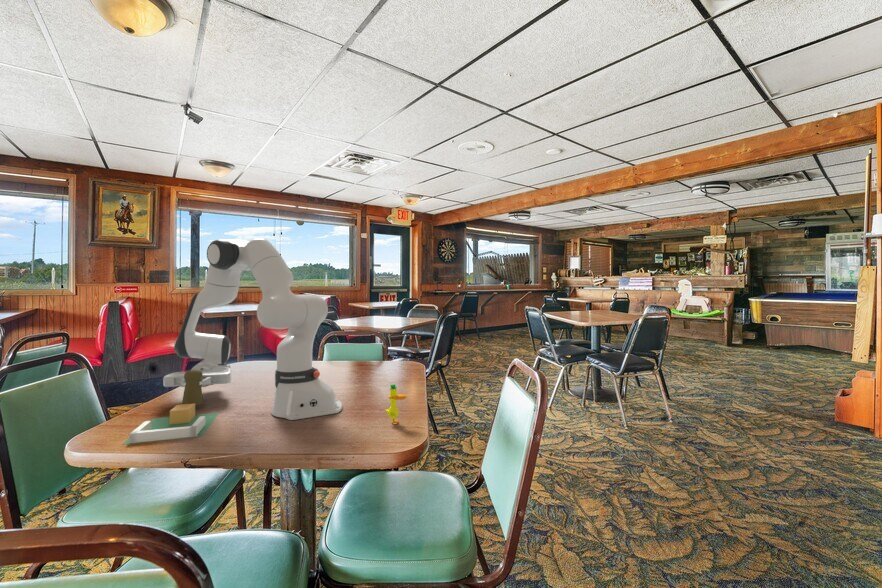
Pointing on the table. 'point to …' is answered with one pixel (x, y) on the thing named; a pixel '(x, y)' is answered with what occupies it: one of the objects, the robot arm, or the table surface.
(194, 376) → the cork
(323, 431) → the table surface
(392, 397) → the toy figure
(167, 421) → the mat
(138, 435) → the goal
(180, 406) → the yellow block
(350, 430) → the table surface
